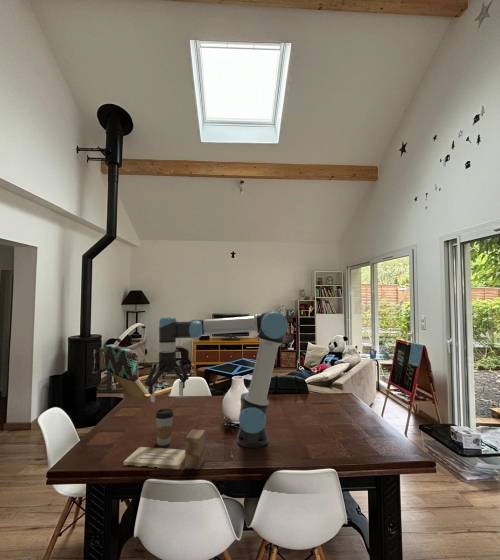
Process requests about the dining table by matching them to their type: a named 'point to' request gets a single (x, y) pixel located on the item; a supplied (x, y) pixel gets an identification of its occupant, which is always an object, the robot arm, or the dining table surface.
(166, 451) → the board
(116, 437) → the dining table surface
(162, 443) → the coffee cup
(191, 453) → the block
